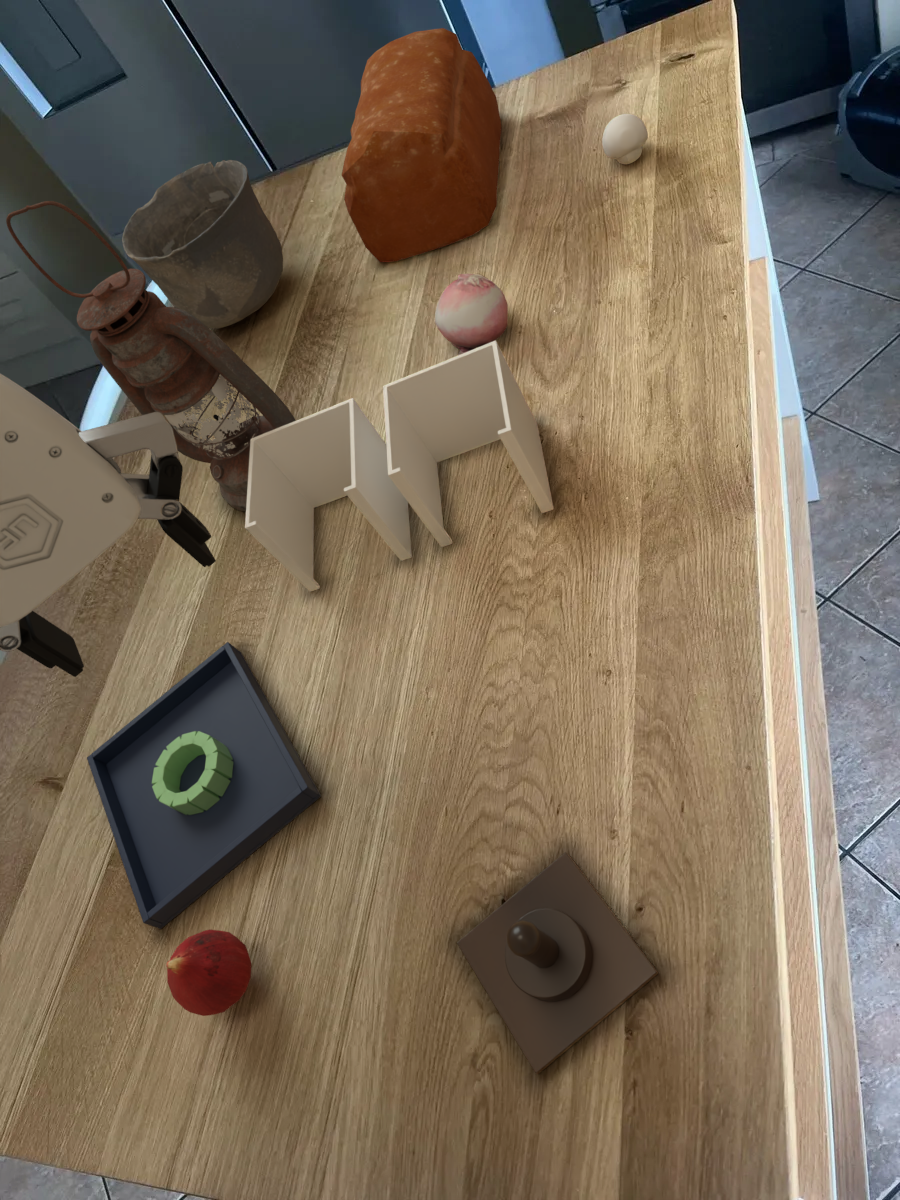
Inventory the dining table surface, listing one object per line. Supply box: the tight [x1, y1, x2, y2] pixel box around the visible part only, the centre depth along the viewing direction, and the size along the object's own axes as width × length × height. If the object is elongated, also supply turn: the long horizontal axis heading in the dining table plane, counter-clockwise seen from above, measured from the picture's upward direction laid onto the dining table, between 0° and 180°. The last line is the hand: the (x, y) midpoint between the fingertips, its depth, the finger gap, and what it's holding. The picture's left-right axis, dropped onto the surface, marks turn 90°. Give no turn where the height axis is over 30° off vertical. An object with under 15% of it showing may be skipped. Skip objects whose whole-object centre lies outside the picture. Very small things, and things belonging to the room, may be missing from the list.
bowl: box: [121, 159, 284, 329], centre depth 113 cm, size 18×18×15 cm
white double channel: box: [244, 340, 555, 593], centre depth 83 cm, size 25×11×11 cm, turn 95°
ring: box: [152, 731, 233, 815], centre depth 80 cm, size 7×7×2 cm
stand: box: [456, 851, 659, 1075], centre depth 58 cm, size 10×10×7 cm
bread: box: [341, 27, 503, 263], centre depth 109 cm, size 17×24×15 cm
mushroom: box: [601, 113, 649, 165], centre depth 100 cm, size 5×5×5 cm
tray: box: [86, 641, 322, 930], centre depth 80 cm, size 17×19×2 cm
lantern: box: [5, 200, 296, 512], centre depth 86 cm, size 11×16×35 cm
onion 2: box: [434, 272, 509, 356], centre depth 93 cm, size 8×8×7 cm
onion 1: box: [165, 929, 252, 1017], centre depth 66 cm, size 6×6×8 cm
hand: (139, 604), depth 52 cm, fingers open, 9 cm apart
